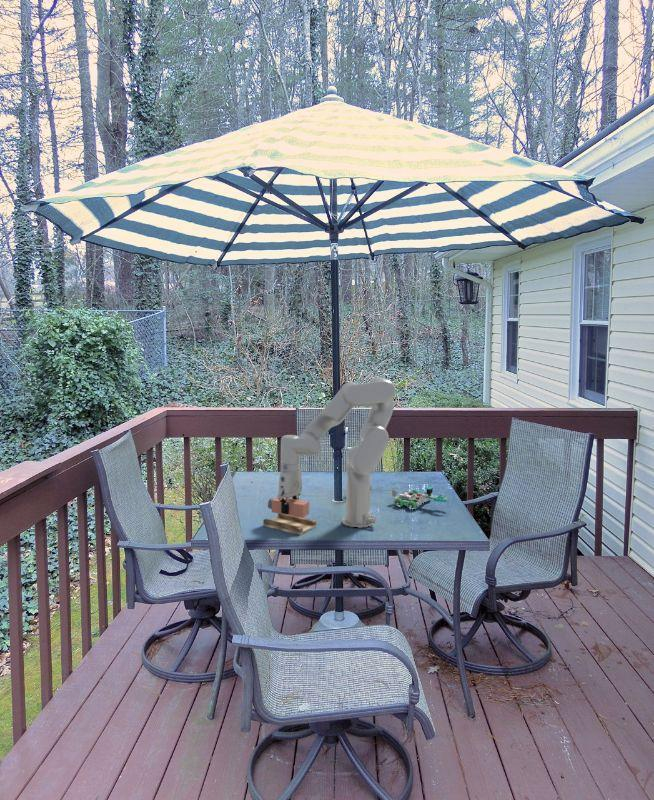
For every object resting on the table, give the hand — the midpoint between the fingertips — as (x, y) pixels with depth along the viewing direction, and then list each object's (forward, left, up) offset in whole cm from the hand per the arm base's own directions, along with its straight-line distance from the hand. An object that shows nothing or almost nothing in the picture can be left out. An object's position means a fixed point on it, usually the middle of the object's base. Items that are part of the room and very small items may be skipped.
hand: (289, 510), depth 236 cm
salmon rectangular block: (0, 0, -1) cm, 1 cm away
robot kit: (-32, -55, -7) cm, 64 cm away
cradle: (0, 0, -6) cm, 6 cm away
